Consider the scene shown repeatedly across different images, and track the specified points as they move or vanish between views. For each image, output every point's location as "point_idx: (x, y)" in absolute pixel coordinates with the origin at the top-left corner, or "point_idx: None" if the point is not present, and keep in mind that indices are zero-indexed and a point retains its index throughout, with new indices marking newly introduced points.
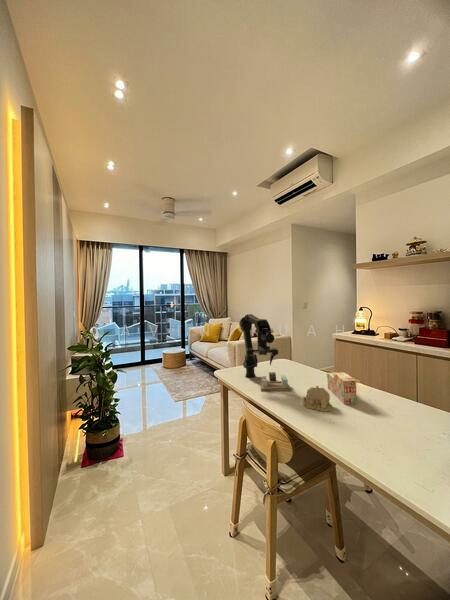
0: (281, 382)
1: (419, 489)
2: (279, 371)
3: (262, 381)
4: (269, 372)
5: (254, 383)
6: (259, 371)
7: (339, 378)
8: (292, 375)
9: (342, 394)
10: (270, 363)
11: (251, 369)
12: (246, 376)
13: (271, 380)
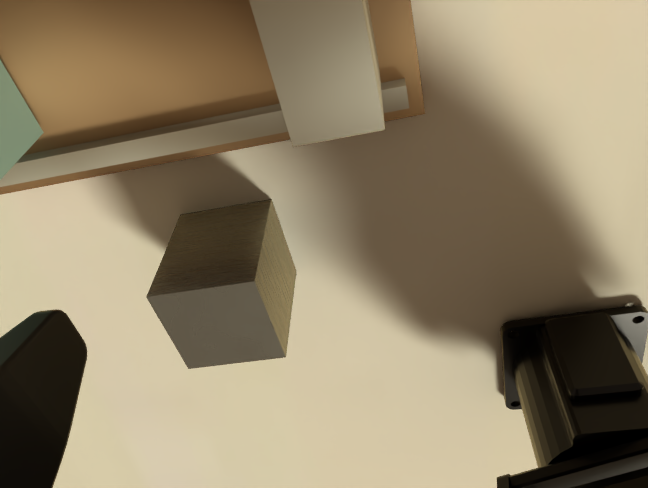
0: (55, 149)
1: None
2: (227, 476)
3: None
4: (273, 350)
5: (519, 97)
6: (448, 465)
7: None
8: None
9: None
10: (1, 355)
11: (591, 414)
12: (637, 320)
13: (241, 216)
